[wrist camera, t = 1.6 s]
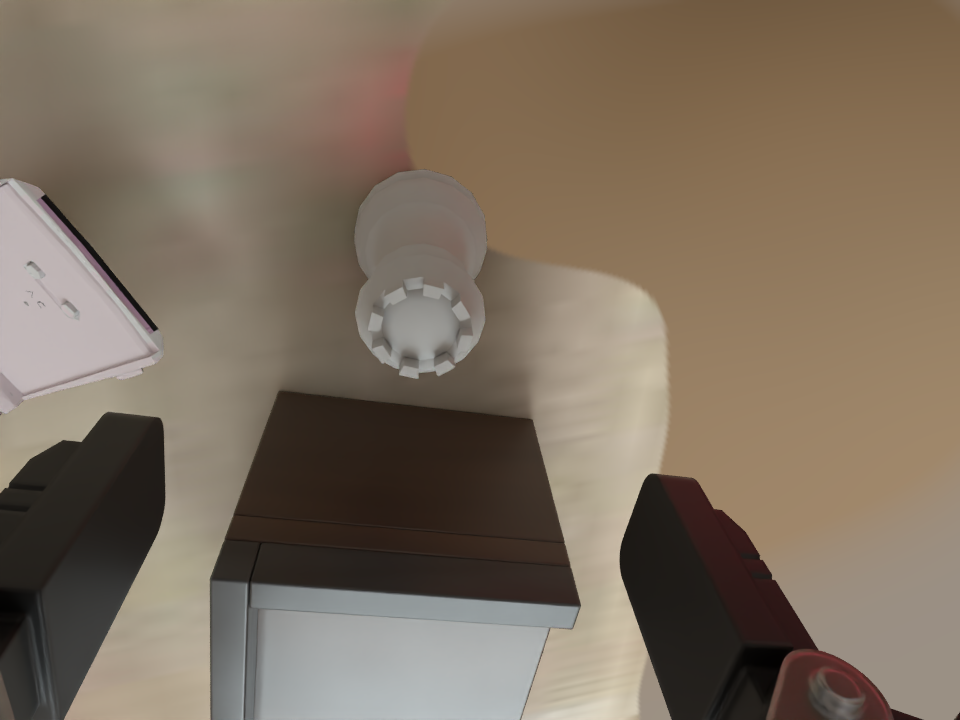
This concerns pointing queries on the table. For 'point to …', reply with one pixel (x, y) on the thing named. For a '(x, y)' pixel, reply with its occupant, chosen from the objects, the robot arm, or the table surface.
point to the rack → (387, 567)
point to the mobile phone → (61, 305)
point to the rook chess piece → (420, 272)
